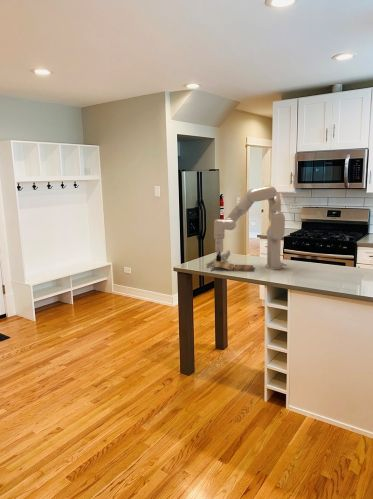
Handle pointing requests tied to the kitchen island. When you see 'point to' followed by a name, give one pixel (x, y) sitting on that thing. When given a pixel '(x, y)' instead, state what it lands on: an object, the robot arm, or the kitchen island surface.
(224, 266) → the beige irregular flat piece
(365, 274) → the kitchen island surface
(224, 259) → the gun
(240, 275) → the kitchen island surface
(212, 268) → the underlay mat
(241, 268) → the walnut plank
